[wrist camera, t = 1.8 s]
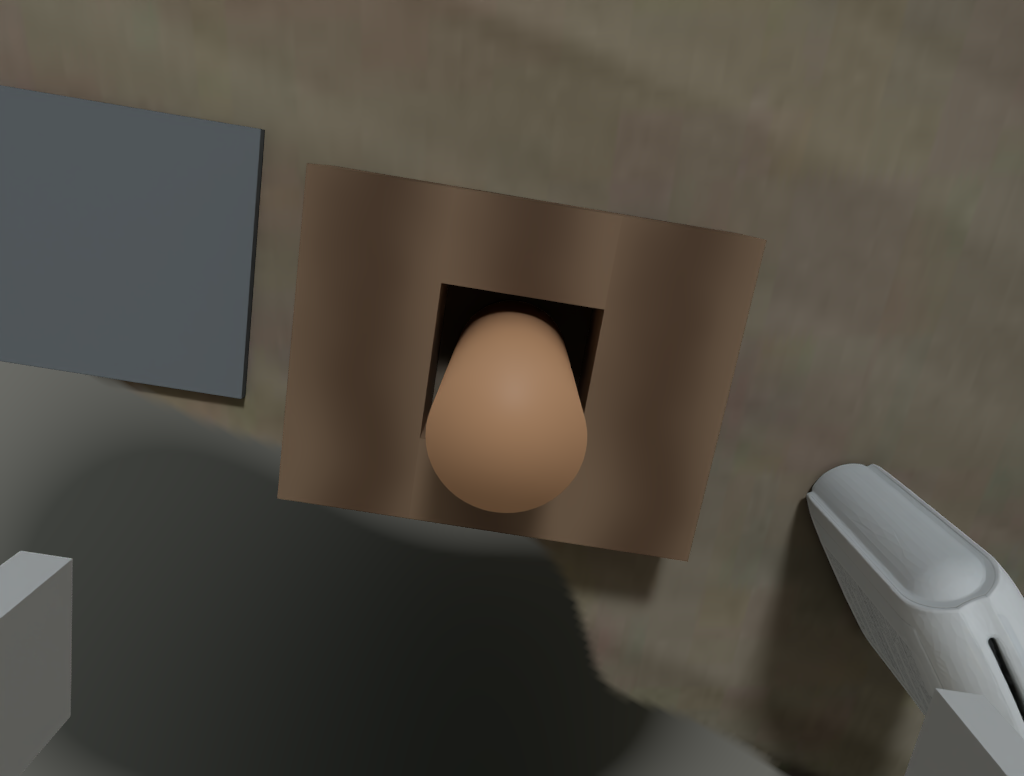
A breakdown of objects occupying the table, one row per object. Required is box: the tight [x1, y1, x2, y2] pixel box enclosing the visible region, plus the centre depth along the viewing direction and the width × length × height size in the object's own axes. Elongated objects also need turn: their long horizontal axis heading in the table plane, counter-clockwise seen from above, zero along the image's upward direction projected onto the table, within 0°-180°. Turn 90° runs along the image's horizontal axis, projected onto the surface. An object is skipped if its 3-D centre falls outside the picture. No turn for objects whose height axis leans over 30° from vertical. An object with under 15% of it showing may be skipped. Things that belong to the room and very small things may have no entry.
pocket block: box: [277, 163, 766, 561], centre depth 33 cm, size 18×14×4 cm
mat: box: [0, 85, 265, 399], centre depth 34 cm, size 12×12×1 cm
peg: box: [425, 300, 587, 513], centre depth 29 cm, size 5×5×12 cm
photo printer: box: [806, 464, 1024, 739], centre depth 32 cm, size 10×4×12 cm, turn 27°
